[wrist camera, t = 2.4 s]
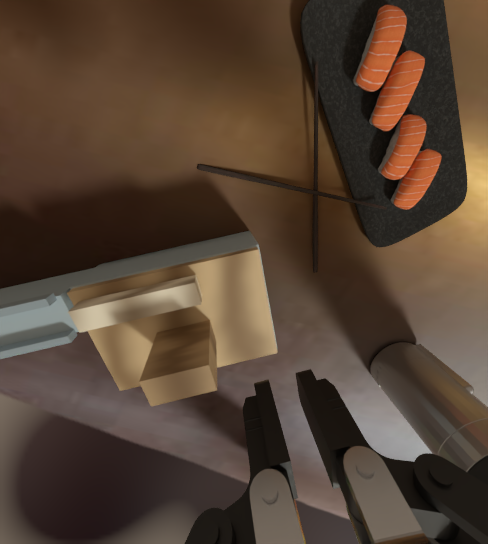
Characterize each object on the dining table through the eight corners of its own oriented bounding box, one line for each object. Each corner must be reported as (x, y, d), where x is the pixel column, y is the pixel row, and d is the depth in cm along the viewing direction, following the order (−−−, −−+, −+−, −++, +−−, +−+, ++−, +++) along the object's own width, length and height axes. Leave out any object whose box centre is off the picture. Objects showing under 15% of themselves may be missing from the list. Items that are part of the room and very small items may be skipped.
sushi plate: (458, 202, 35) (486, 205, 31) (273, 301, 37) (279, 314, 34) (416, -67, 24) (452, -109, 20) (157, 98, 26) (148, 86, 23)
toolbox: (249, 229, 32) (262, 249, 24) (266, 318, 37) (281, 360, 29) (-3, 286, 31) (-85, 328, 22) (52, 369, 36) (3, 428, 28)
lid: (257, 246, 26) (274, 275, 18) (275, 347, 31) (295, 401, 23) (72, 288, 25) (12, 335, 18) (123, 384, 30) (93, 451, 23)
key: (196, 274, 25) (194, 282, 23) (202, 295, 26) (201, 304, 24) (78, 301, 24) (67, 311, 22) (89, 321, 25) (79, 332, 23)
